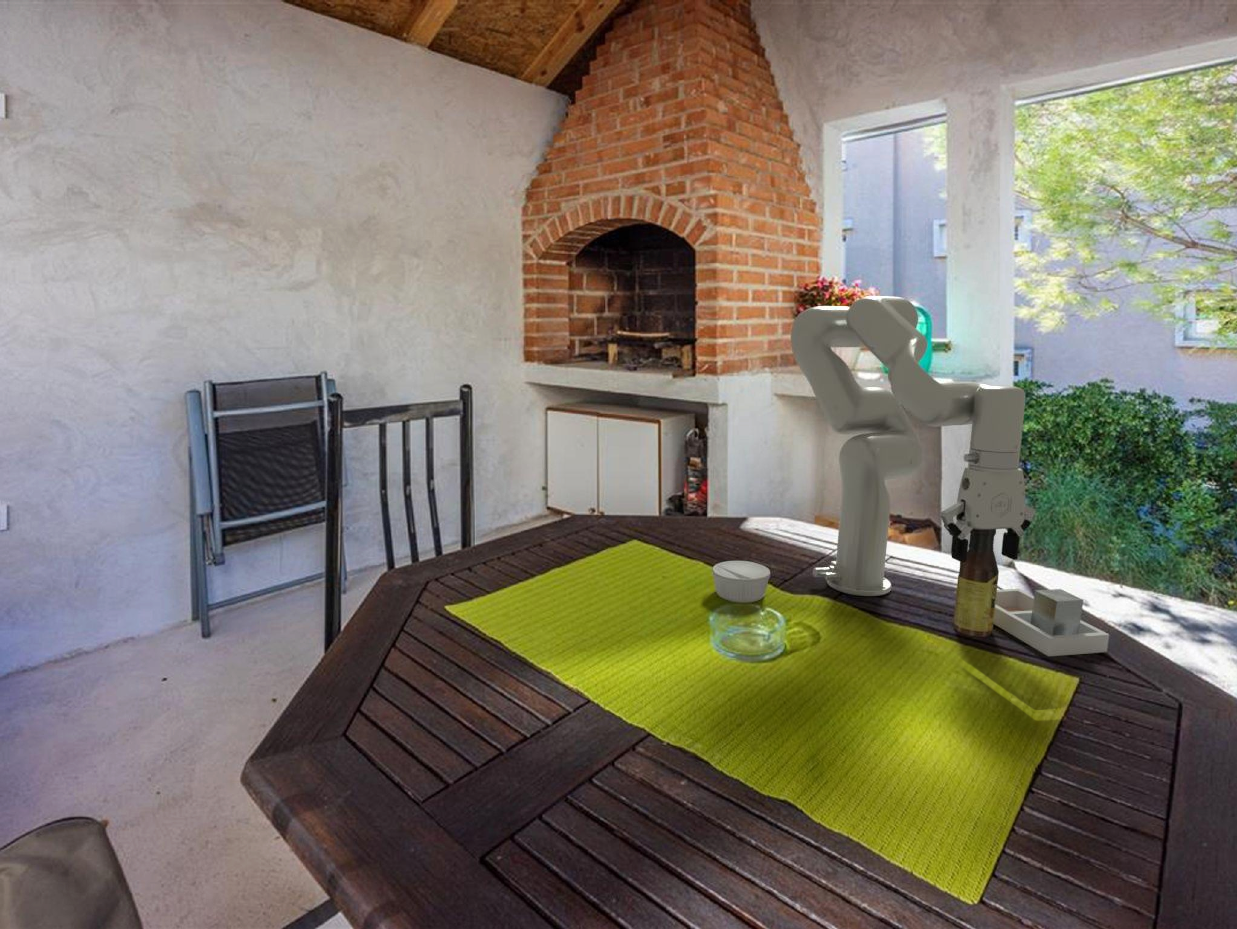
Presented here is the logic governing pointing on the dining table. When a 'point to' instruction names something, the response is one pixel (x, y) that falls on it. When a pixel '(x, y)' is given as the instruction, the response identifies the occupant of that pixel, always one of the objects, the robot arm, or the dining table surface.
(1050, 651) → the divided bay tray
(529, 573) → the dining table surface
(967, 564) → the sauce bottle
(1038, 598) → the grey metal block
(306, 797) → the dining table surface
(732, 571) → the ramekin
